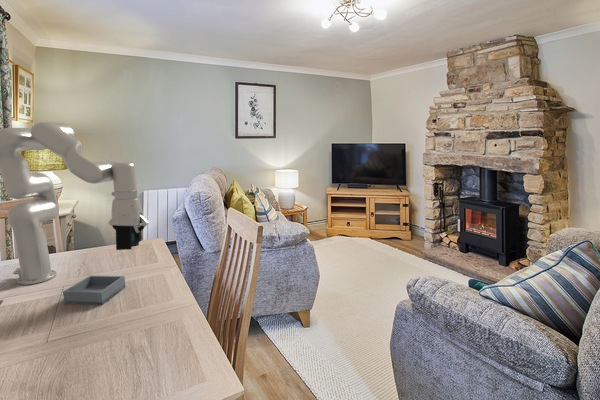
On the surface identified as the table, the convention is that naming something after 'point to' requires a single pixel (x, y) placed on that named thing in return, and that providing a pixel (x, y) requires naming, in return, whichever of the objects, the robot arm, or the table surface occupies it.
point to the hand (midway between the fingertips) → (130, 241)
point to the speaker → (125, 237)
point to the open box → (94, 290)
